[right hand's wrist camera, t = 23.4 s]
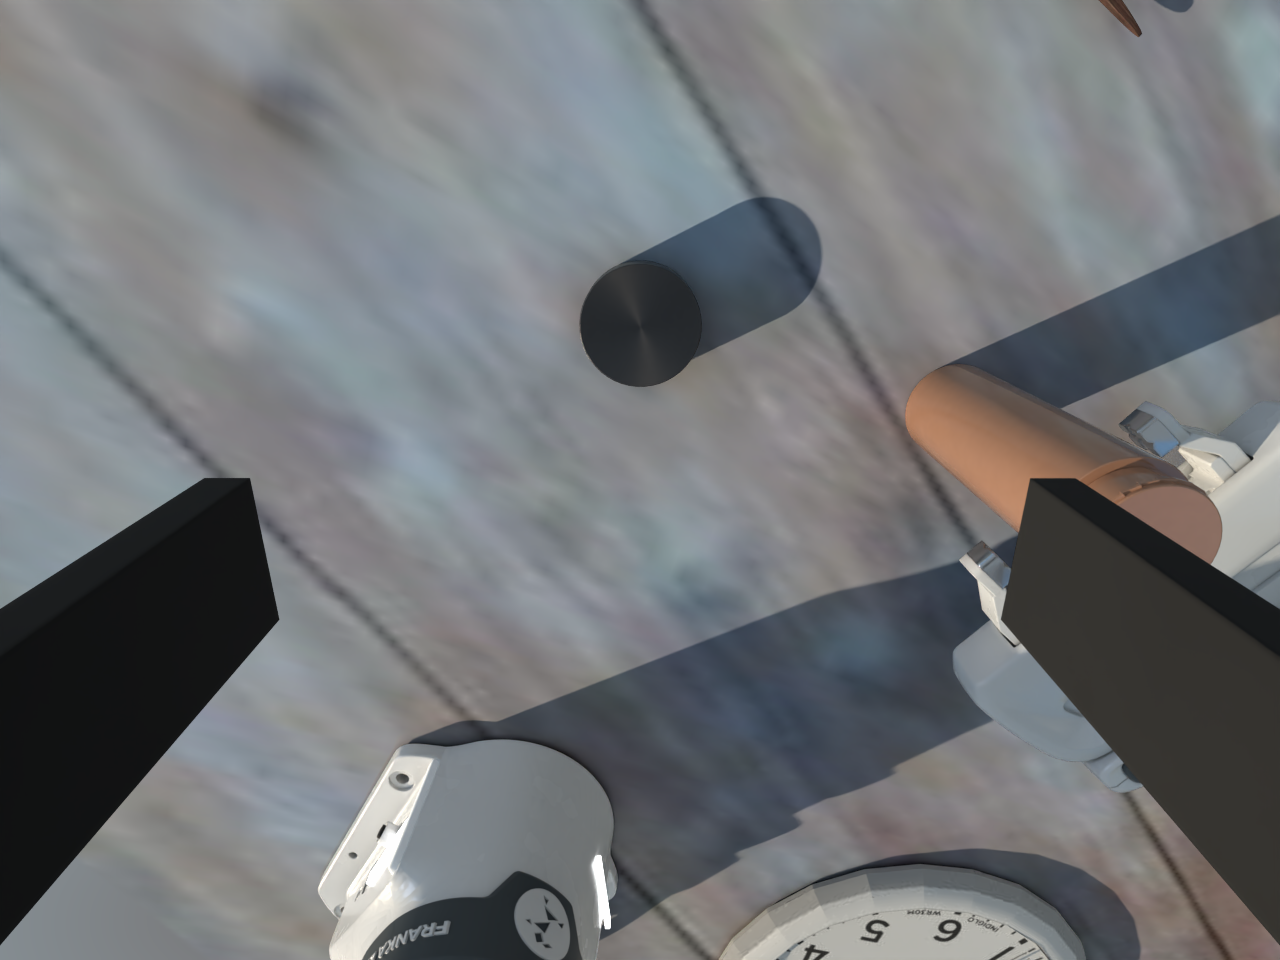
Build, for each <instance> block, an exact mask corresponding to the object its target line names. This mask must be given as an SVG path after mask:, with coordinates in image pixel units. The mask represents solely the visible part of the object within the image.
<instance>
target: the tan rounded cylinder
mask: <svg viewBox="0 0 1280 960" xmlns="http://www.w3.org/2000/svg"><path fill="white" fill-rule="evenodd" d="M905 419H906V425H907V429H908V432H909V434H910V435H911V437H912V439H913V440H914V441H915V442H916V443H917V444H918V445H919V446H920V447H921V448H922V449H924V450H925V451H926V452H927V453H928V454H929V455H930V456H931V457H933V458H934V459H935V460H936V461H937V462H938V463H939V464H941V465H942V466H943V467H944V468H945V469H946V470H947V471H948V472H950V473H951V474H952V475H953V476H954V477H955V478H956V479H958V480H959V481H960V482H961V483H962V484H963V485H964V486H965V487H967V488H968V489H969V490H970V491H971V492H972V493H973V494H975V495H976V496H977V497H978V498H979V499H980V500H981V501H982V502H984V503H985V504H986V505H987V506H988V507H989V508H990V509H992V510H993V511H994V512H995V513H996V514H997V515H998V516H999V517H1001V518H1002V519H1003V520H1004V521H1005V522H1006V523H1007V524H1009V525H1010V526H1011V527H1012V528H1013V529H1014V530H1015V531H1016V532H1018V533H1019V529H1020V524H1021V520H1022V515H1023V510H1024V505H1025V500H1026V495H1027V491H1028V486H1029V481H1030V478H1076V479H1078V480H1079V481H1081V482H1082V483H1084V484H1086V485H1087V486H1089V487H1090V488H1092V489H1093V490H1095V491H1096V492H1098V493H1100V494H1101V495H1103V496H1104V497H1106V498H1107V499H1109V500H1110V501H1112V502H1114V503H1115V504H1117V505H1118V506H1120V507H1121V508H1123V509H1125V510H1126V511H1128V512H1129V513H1131V514H1132V515H1134V516H1135V517H1137V518H1139V519H1140V520H1142V521H1143V522H1145V523H1146V524H1148V525H1149V526H1151V527H1153V528H1154V529H1156V530H1157V531H1159V532H1160V533H1162V534H1164V535H1165V536H1167V537H1168V538H1170V539H1171V540H1173V541H1174V542H1176V543H1178V544H1179V545H1181V546H1182V547H1184V548H1185V549H1187V550H1188V551H1190V552H1192V553H1193V554H1195V555H1196V556H1198V557H1199V558H1201V559H1203V560H1204V561H1206V562H1207V563H1209V564H1210V565H1211V563H1212V562H1213V560H1214V558H1215V557H1216V555H1217V552H1218V550H1219V547H1220V544H1221V540H1222V531H1223V530H1222V521H1221V516H1220V514H1219V511H1218V509H1217V508H1216V506H1215V504H1214V503H1213V501H1212V500H1211V499H1210V498H1209V497H1208V495H1207V494H1206V493H1205V491H1204V490H1202V489H1201V488H1199V487H1198V486H1196V485H1194V484H1193V483H1191V482H1189V481H1188V479H1187V477H1186V476H1185V475H1184V474H1183V473H1182V472H1181V471H1180V470H1179V469H1178V468H1176V467H1175V466H1173V465H1172V464H1170V463H1168V462H1166V461H1164V460H1162V459H1160V458H1158V457H1156V456H1154V455H1152V454H1150V453H1148V452H1146V451H1144V450H1142V449H1140V448H1138V447H1136V446H1134V445H1132V444H1130V443H1128V442H1126V441H1124V440H1122V439H1120V438H1118V437H1116V436H1114V435H1112V434H1110V433H1108V432H1106V431H1104V430H1102V429H1100V428H1098V427H1096V426H1094V425H1092V424H1090V423H1088V422H1086V421H1084V420H1082V419H1080V418H1078V417H1076V416H1074V415H1072V414H1070V413H1068V412H1066V411H1064V410H1062V409H1060V408H1058V407H1056V406H1054V405H1052V404H1050V403H1048V402H1046V401H1044V400H1042V399H1040V398H1038V397H1036V396H1034V395H1032V394H1030V393H1028V392H1026V391H1024V390H1022V389H1019V388H1017V387H1015V386H1013V385H1011V384H1009V383H1007V382H1005V381H1003V380H1001V379H999V378H997V377H995V376H993V375H991V374H989V373H987V372H985V371H983V370H981V369H979V368H977V367H974V366H971V365H967V364H953V365H948V366H944V367H941V368H939V369H937V370H935V371H933V372H931V373H930V374H928V375H927V376H926V377H924V378H923V379H922V380H921V381H920V382H919V383H918V384H917V386H916V387H915V388H914V390H913V391H912V393H911V395H910V397H909V400H908V403H907V406H906V413H905Z"/></svg>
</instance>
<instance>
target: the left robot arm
mask: <svg viewBox="0 0 1280 960" xmlns="http://www.w3.org/2000/svg"><path fill="white" fill-rule="evenodd" d="M1119 426H1120V428H1121V429H1122V430H1123V431H1125V432H1127V433H1129V437H1130V438H1131V439H1132V440H1133V442H1134V443H1135V444H1136V445H1138V446H1139V447H1141V448H1143V449H1145V450H1150V451H1151V452H1152V453H1153V454H1155V455H1157V456H1159V457H1161V458H1162V457H1163V456H1165V455H1166V454H1167V453H1168V452H1170V451H1171V450H1172V449H1174V448H1175V447H1176V446H1180V448H1179V453H1180V454H1181V455H1182V456H1183V457H1184V458H1185V459H1186V461H1185V462H1184V463H1182V464H1181V465H1180V466H1179V467H1177V468H1178V469H1179V470H1180V471H1181V472H1182V473H1183V474H1184V475H1185V476H1186V477H1187V479H1188V481H1189V482H1191V483H1193V484H1194V485H1196V486H1198V487H1199V488H1201V489H1202V490H1204V491H1205V493H1206V494H1207V495H1208V497H1209V498H1210V499H1211V500H1212V501H1213V503H1214V504H1215V506H1216V508H1217V509H1218V511H1219V514H1220V516H1221V521H1222V530H1223V531H1222V540H1221V544H1220V547H1219V550H1218V552H1217V555H1216V557H1215V558H1214V560H1213V562H1212V563H1211V565H1212V566H1213V567H1215V568H1217V569H1218V570H1220V571H1221V572H1223V573H1224V574H1226V575H1227V576H1229V577H1231V578H1232V579H1234V580H1235V581H1237V582H1238V583H1240V584H1242V585H1243V586H1245V587H1246V588H1248V589H1249V590H1251V591H1252V592H1254V593H1256V594H1257V595H1259V596H1260V597H1262V598H1263V599H1265V600H1266V601H1268V602H1270V603H1271V604H1273V605H1274V606H1276V607H1277V608H1279V609H1280V401H1262V402H1259V403H1257V404H1255V405H1254V406H1252V407H1251V408H1250V409H1249V410H1247V411H1246V412H1245V413H1244V414H1242V415H1241V416H1240V417H1239V418H1238V419H1236V420H1235V421H1234V422H1233V423H1231V424H1230V425H1229V426H1228V427H1227V428H1225V429H1224V430H1223V431H1222V432H1220V433H1219V434H1218V435H1215V434H1213V433H1211V432H1208V431H1206V430H1203V429H1200V428H1195V427H1190V426H1185V425H1180V424H1179V422H1178V421H1177V420H1176V419H1175V418H1174V417H1173V416H1172V415H1171V414H1170V413H1169V412H1167V411H1166V410H1165V409H1163V408H1161V407H1159V406H1157V405H1154V404H1152V403H1149V402H1147V401H1145V402H1144V403H1142V404H1141V405H1140V406H1139V407H1138V408H1136V410H1134V411H1133V412H1132V413H1131V414H1130V415H1129V416H1128V417H1126V418H1125V419H1124V420H1123V421H1122V422H1121V423H1119ZM959 560H960V562H961V563H962V564H963V565H964V566H965V567H966V569H967V570H968V571H969V572H970V573H971V574H972V575H973V576H974V577H975V578H976V579H977V581H978V587H979V593H980V600H981V606H982V610H983V611H984V612H985V614H986V615H987V616H988V617H989V618H990V620H989V621H988V622H987V623H985V624H984V625H983V626H982V627H980V628H979V629H978V630H977V631H975V632H974V633H973V634H972V635H971V636H969V637H968V638H967V639H965V640H964V641H963V642H962V643H960V644H959V645H958V646H957V647H956V648H955V649H954V651H953V670H954V673H955V675H956V677H957V678H958V680H959V682H960V683H961V685H962V686H963V688H964V689H965V691H966V692H967V693H968V695H969V696H970V697H971V699H972V700H973V701H974V702H975V704H976V705H977V706H978V707H979V708H980V709H981V710H982V711H984V712H985V713H986V714H987V715H988V716H989V717H991V718H992V719H993V720H995V721H996V722H997V723H999V724H1000V725H1001V726H1003V727H1004V728H1005V729H1007V730H1008V731H1010V732H1011V733H1012V734H1014V735H1015V736H1017V737H1018V738H1020V739H1021V740H1023V741H1025V742H1026V743H1028V744H1029V745H1031V746H1033V747H1034V748H1036V749H1038V750H1039V751H1041V752H1043V753H1045V754H1047V755H1049V756H1051V757H1054V758H1056V759H1059V760H1063V761H1069V762H1082V763H1083V764H1084V765H1085V766H1086V767H1087V769H1088V770H1089V771H1090V772H1091V773H1093V774H1094V775H1095V776H1096V777H1097V778H1098V779H1099V780H1100V781H1101V782H1102V783H1103V784H1104V785H1105V786H1106V787H1107V788H1109V789H1110V790H1112V791H1114V792H1119V793H1124V792H1129V791H1133V790H1136V789H1139V788H1141V787H1144V786H1143V785H1142V784H1141V783H1140V781H1139V780H1138V779H1137V778H1136V777H1135V776H1134V774H1133V773H1132V772H1131V771H1130V770H1129V769H1128V767H1127V766H1126V765H1125V764H1124V763H1123V762H1122V761H1121V759H1120V758H1119V757H1118V756H1117V755H1116V754H1115V752H1114V751H1113V750H1112V749H1111V748H1110V747H1109V745H1108V744H1107V743H1106V742H1105V741H1104V740H1103V738H1102V737H1101V736H1100V735H1099V734H1098V733H1097V731H1096V730H1095V729H1094V728H1093V727H1092V726H1091V724H1090V723H1089V722H1088V721H1087V720H1086V719H1085V717H1084V716H1083V715H1082V714H1081V713H1080V712H1079V710H1078V709H1077V708H1076V707H1075V706H1074V705H1073V703H1072V702H1071V701H1070V700H1069V699H1068V698H1067V696H1066V695H1065V694H1064V693H1063V692H1062V691H1061V689H1060V688H1059V687H1058V686H1057V685H1056V684H1055V682H1054V681H1053V680H1052V679H1051V678H1050V677H1049V675H1048V674H1047V673H1046V672H1045V671H1044V670H1043V668H1042V667H1041V666H1040V665H1039V664H1038V663H1037V661H1036V660H1035V659H1034V658H1033V657H1032V656H1031V654H1030V653H1029V652H1028V651H1027V650H1026V649H1025V647H1024V646H1023V645H1022V644H1021V643H1020V642H1019V640H1018V639H1017V638H1016V637H1015V636H1014V635H1013V633H1012V632H1011V631H1010V630H1009V629H1008V628H1007V626H1006V625H1005V624H1004V623H1003V622H1002V621H1001V616H1002V611H1003V606H1004V601H1005V597H1006V592H1007V591H1006V586H1007V585H1008V582H1009V577H1010V572H1011V568H1010V567H1009V566H1008V565H1007V564H1006V563H1005V562H1004V561H1003V560H1002V559H1001V558H1000V557H999V556H998V555H997V554H996V553H995V552H994V551H993V550H992V549H990V548H989V547H988V546H987V545H986V544H985V543H984V542H983V541H981V542H980V543H978V544H977V545H976V546H975V547H973V548H972V549H971V550H970V551H969V552H967V554H966V555H964V556H963V557H962V558H961V559H959ZM402 774H406V775H407V776H405V775H402ZM613 831H614V818H613V812H612V807H611V804H610V802H609V799H608V797H607V795H606V793H605V791H604V790H603V788H602V786H601V785H600V784H599V782H598V781H597V780H596V779H595V778H594V776H593V775H592V774H591V773H590V772H589V771H588V770H586V769H585V768H584V767H583V766H582V765H580V764H579V763H577V762H576V761H574V760H573V759H571V758H570V757H568V756H566V755H564V754H562V753H560V752H558V751H556V750H553V749H551V748H548V747H545V746H542V745H539V744H535V743H530V742H526V741H519V740H506V739H497V740H484V741H477V742H473V743H468V744H463V745H458V746H450V747H444V746H436V745H428V744H406V745H403V746H401V747H399V748H398V749H397V750H396V751H395V753H394V755H393V756H392V758H391V760H390V761H389V763H388V765H387V767H386V768H385V770H384V772H383V773H382V775H381V777H380V778H379V780H378V782H377V784H376V785H375V787H374V789H373V790H372V792H371V794H370V795H369V797H368V799H367V801H366V802H365V804H364V806H363V807H362V809H361V811H360V812H359V814H358V816H357V817H356V819H355V821H354V823H353V824H352V826H351V828H350V829H349V831H348V833H347V834H346V836H345V838H344V840H343V841H342V843H341V845H340V846H339V848H338V850H337V851H336V853H335V855H334V857H333V858H332V860H331V862H330V863H329V865H328V867H327V869H326V870H325V872H324V874H323V876H322V879H321V882H320V885H319V888H318V892H319V895H320V896H321V898H322V900H323V901H324V903H325V905H326V906H327V907H328V909H329V910H330V911H331V912H332V913H333V914H334V915H335V916H336V917H337V918H338V919H339V922H338V924H337V927H336V929H335V932H334V935H333V937H332V940H331V943H330V947H329V953H330V958H331V960H596V958H597V952H598V945H599V939H600V932H601V926H602V919H603V916H604V922H605V929H610V912H609V906H608V901H609V900H610V899H612V898H613V897H614V895H615V894H616V890H617V883H618V874H617V870H616V867H615V864H614V862H613V859H612V857H611V843H612V837H613Z"/></svg>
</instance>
